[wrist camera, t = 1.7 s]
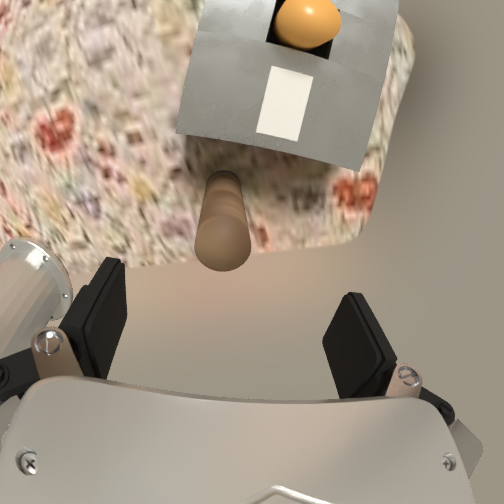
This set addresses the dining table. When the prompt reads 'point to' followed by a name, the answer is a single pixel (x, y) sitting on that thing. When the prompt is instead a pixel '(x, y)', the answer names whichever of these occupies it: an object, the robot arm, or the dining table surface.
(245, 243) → the brown rounded rod
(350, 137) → the box
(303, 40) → the button
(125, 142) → the dining table surface
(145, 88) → the dining table surface
